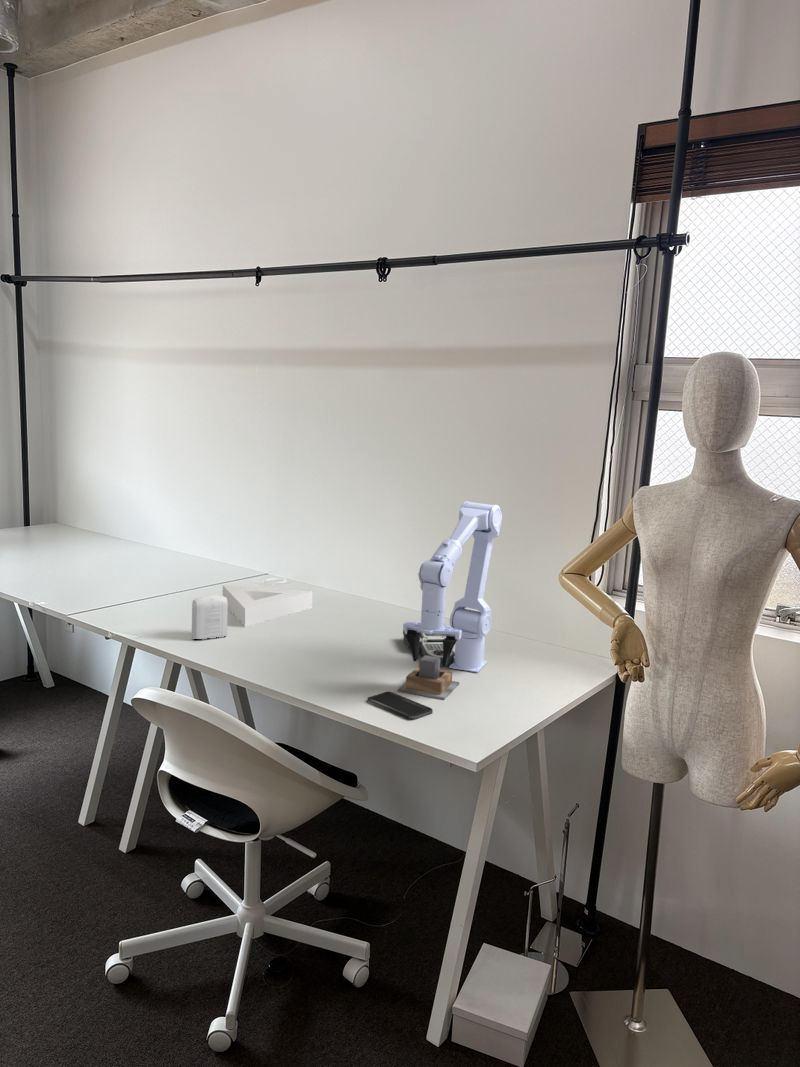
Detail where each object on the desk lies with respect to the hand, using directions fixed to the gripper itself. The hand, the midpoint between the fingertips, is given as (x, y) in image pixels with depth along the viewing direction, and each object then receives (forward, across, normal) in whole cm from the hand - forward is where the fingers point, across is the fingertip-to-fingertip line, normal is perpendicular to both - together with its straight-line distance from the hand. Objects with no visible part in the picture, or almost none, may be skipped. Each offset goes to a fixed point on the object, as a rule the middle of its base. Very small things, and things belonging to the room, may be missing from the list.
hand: (430, 662), depth 208 cm
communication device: (+7, -9, +26) cm, 28 cm away
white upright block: (+7, -69, +8) cm, 70 cm away
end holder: (+6, 0, 0) cm, 7 cm away
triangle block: (+7, -69, +34) cm, 77 cm away
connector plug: (+6, 0, 0) cm, 6 cm away
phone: (+7, -2, -15) cm, 17 cm away
